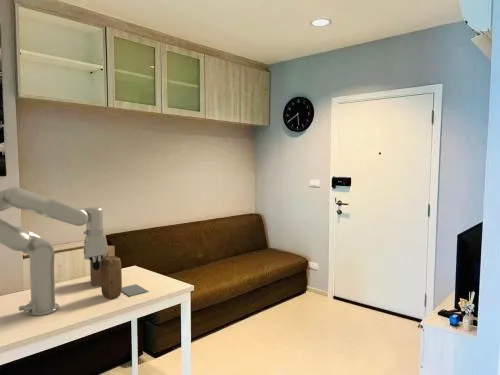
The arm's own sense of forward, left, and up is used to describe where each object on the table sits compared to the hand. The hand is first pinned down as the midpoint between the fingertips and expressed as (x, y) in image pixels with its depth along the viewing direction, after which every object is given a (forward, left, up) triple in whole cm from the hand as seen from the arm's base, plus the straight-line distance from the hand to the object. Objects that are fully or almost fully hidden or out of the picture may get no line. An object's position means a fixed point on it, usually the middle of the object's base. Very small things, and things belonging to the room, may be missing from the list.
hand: (96, 269), depth 179 cm
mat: (+19, 0, -15) cm, 24 cm away
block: (+7, 0, -16) cm, 17 cm away
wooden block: (+12, +23, -16) cm, 30 cm away
